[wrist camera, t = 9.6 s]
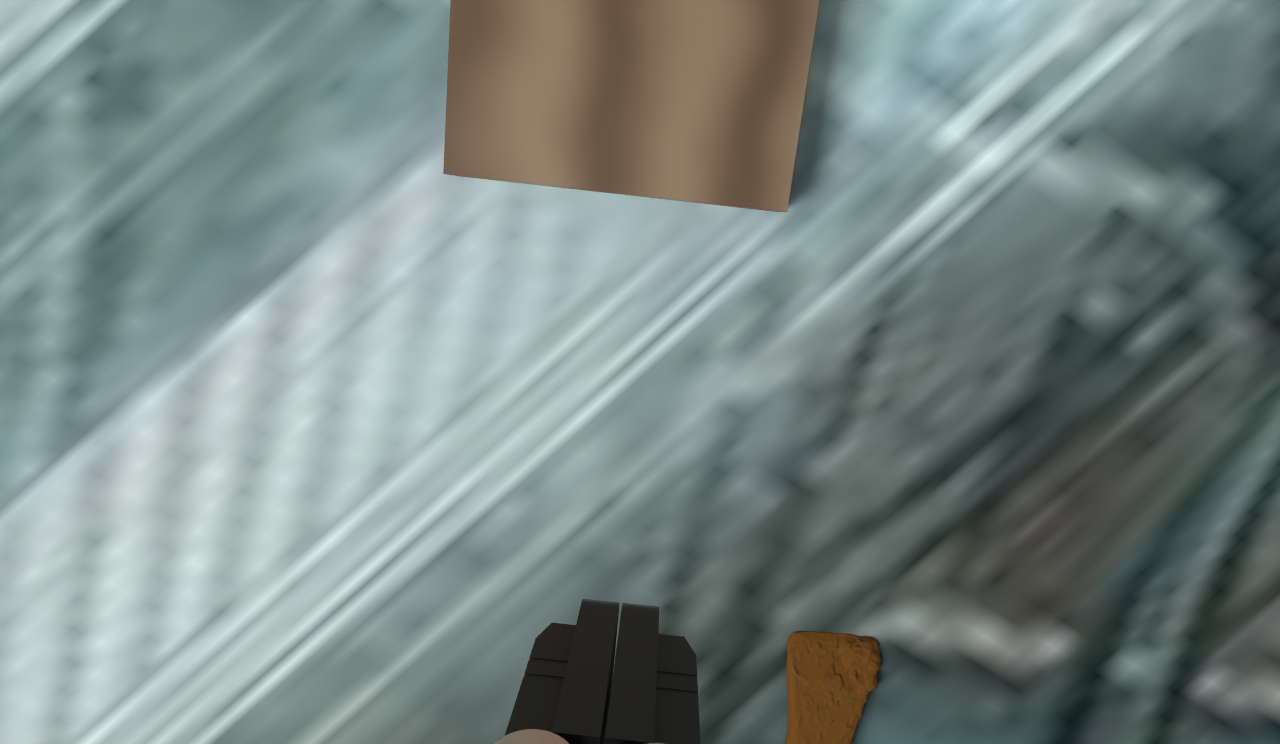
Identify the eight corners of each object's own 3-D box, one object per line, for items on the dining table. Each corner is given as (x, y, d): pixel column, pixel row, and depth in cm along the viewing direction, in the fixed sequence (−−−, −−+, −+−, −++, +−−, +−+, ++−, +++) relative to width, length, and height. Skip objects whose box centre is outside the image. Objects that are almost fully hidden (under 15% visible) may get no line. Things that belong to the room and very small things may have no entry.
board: (818, -56, 32) (831, -77, 30) (777, 211, 35) (787, 211, 32) (471, -95, 32) (455, -120, 30) (458, 175, 35) (443, 173, 32)
